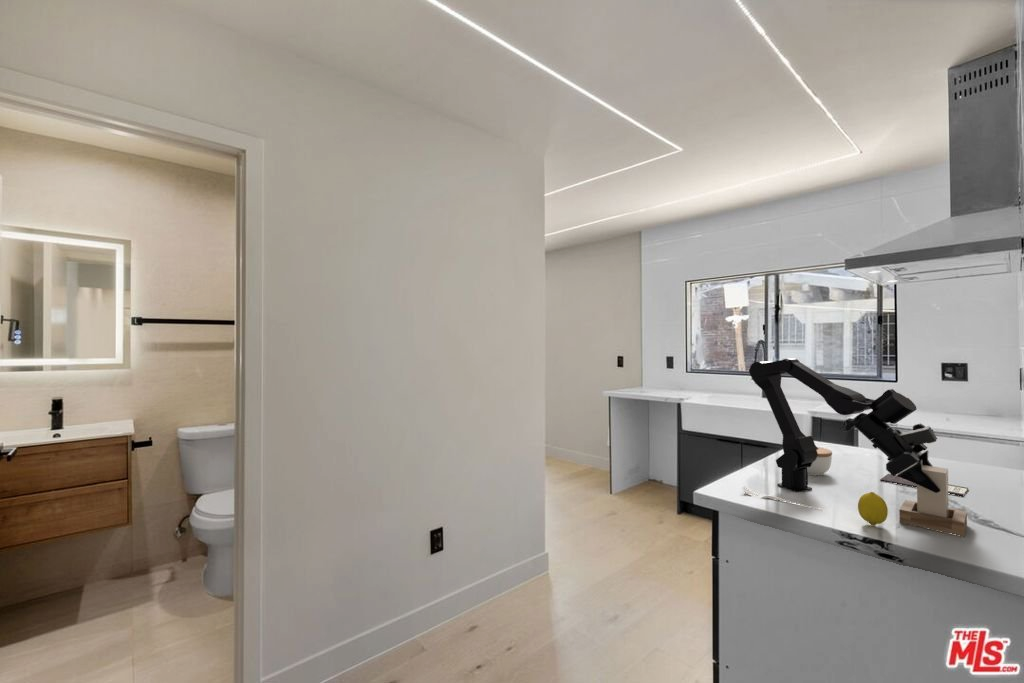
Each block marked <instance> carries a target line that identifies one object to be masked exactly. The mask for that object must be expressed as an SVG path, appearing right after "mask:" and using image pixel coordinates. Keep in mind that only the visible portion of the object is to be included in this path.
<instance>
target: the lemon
mask: <svg viewBox="0 0 1024 683" xmlns="http://www.w3.org/2000/svg"><path fill="white" fill-rule="evenodd" d="M888 509H889V508H888V504H887V503H886V501H885V500H884V498H883V497H882V496H880V495H878V494H877V493H876V492H873V491H870V492H868V493H863V494H862V495H861V496H860V498H859V499H858V501H857V510H858V513H859V515H860V517H861V518H862V520H864V521H865V522H866V523H869V524H870V525H871V526H873V527H875V526H876V525H878V524H882V523H884V522H885V521H886V520H887V518H888V514H889V513H888V512H889V510H888Z"/></svg>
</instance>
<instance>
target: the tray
mask: <svg viewBox="0 0 1024 683" xmlns="http://www.w3.org/2000/svg"><path fill="white" fill-rule="evenodd" d="M948 513H949V518H945V517H940V516H935V515H930V514H925V513H921V512H917V501H913V500H909V499H904V501H903V502H902V504H901V506H900V508H899V523H900V524H904V525H908V524H909V526H913V525H914V527H917V526H919V527H918V528H921V527H924V528H923V529H926V528H929V529H928V530H930V529H933V530H932V531H935V530H938V531H937V532H939V531H942V532H941V533H944V532H946V533H945V534H948V533H952V534H956V535H955V536H957V535H960V536H959V537H961V536H963V537H962V538H965V536H966V531H967V527H968V512H967V511H964V510H960V509H953V508H951V507H950V508H949V507H948ZM952 534H951V535H952Z"/></svg>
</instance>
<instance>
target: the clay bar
mask: <svg viewBox="0 0 1024 683" xmlns="http://www.w3.org/2000/svg"><path fill="white" fill-rule="evenodd" d="M922 466H923V470H924V471H925V472H926V473H927V474H928V476H929V477H930V478H931V479H932V480H933V481H934V483H935V484H936V485H937V486H938V487H939V489H940V491H939V492H938V493H935V492H933V491H931V490H929V489H926V488H924V487H922V486H920V485H918V484H917V488H916V502H917V512H921V513H925V514H930V515H935V516H940V517H945V518H949V513H948V508H949V494H948V484H949V468H947V467H939V466H933V465H932V466H927V465H922Z"/></svg>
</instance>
